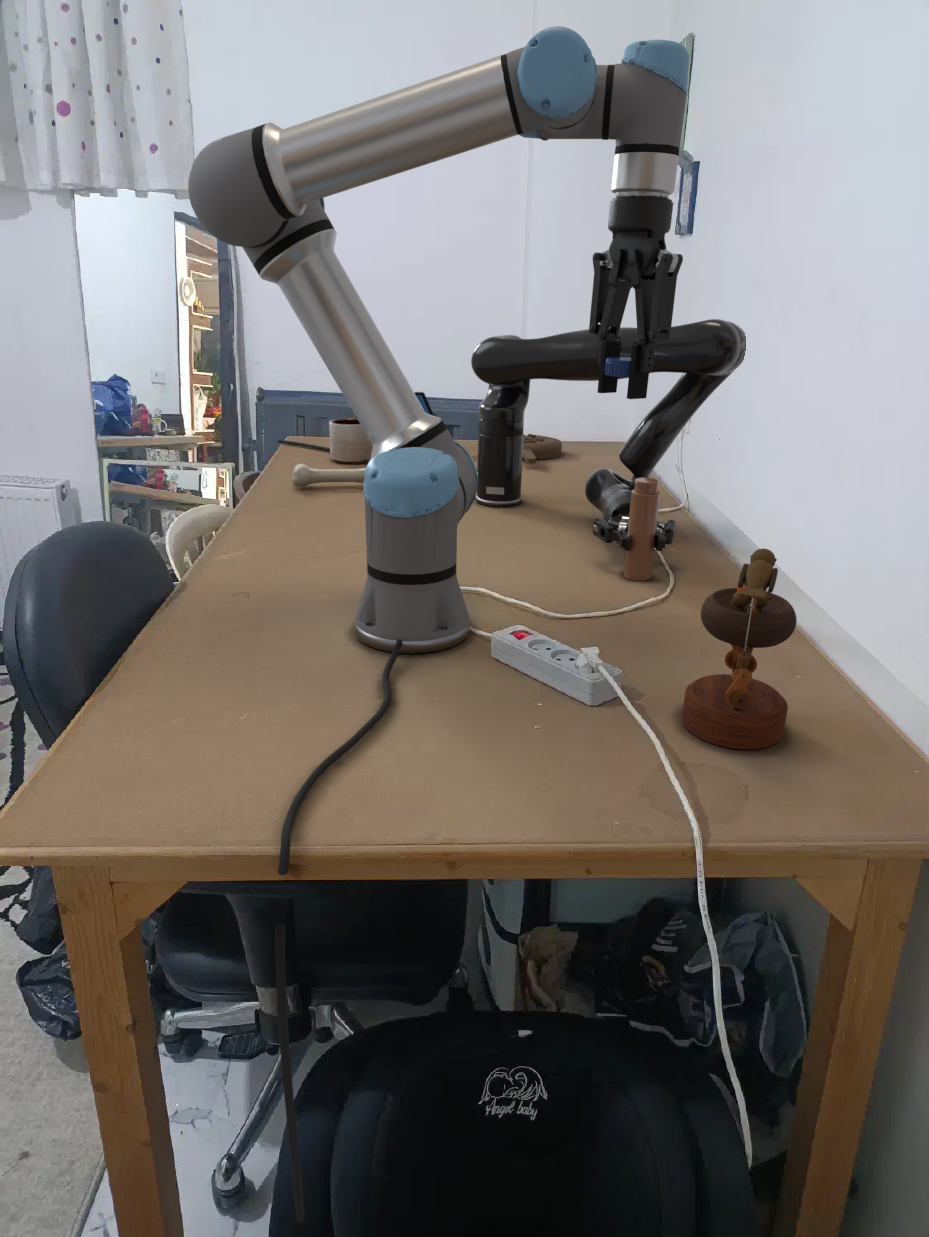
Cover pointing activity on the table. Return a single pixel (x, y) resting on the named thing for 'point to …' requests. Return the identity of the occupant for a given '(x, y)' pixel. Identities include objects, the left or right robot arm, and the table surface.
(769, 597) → the music box
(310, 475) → the dog toy
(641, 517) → the bottle
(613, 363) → the lid
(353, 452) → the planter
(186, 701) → the table surface
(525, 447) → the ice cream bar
